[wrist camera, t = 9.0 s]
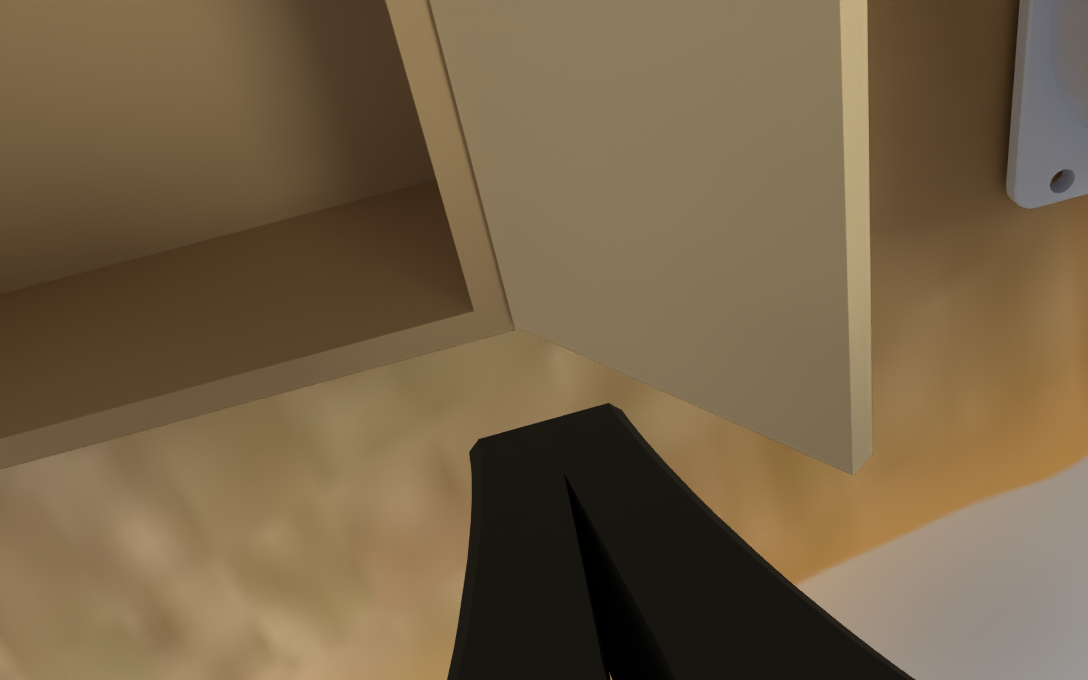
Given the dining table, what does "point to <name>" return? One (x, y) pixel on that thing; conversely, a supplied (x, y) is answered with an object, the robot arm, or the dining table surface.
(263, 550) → the dining table surface
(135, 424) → the carton
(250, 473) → the dining table surface
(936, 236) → the dining table surface
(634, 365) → the flap
